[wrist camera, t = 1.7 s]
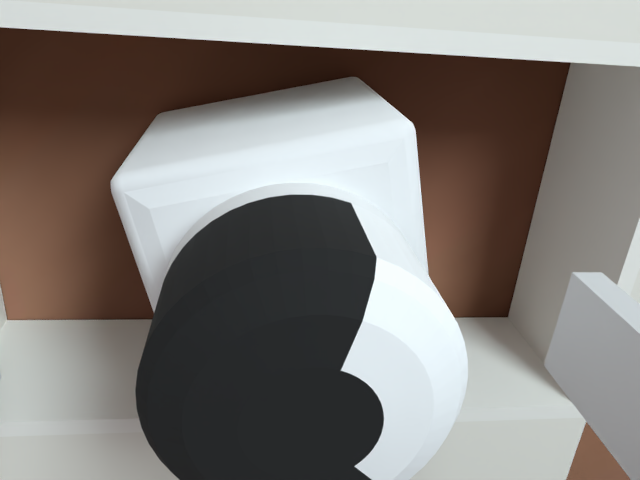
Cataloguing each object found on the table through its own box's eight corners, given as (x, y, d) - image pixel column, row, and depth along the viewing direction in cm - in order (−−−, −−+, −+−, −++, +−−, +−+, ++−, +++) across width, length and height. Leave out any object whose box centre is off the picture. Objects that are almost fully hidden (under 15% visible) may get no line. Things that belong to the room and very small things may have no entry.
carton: (555, 393, 28) (628, 490, 23) (-63, 409, 24) (-153, 531, 19) (702, -83, 19) (878, -110, 14) (-228, -180, 15) (-487, -270, 10)
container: (206, 291, 23) (163, 600, 12) (152, 112, 20) (16, 290, 8) (383, 256, 24) (516, 522, 12) (360, 73, 20) (513, 191, 9)
